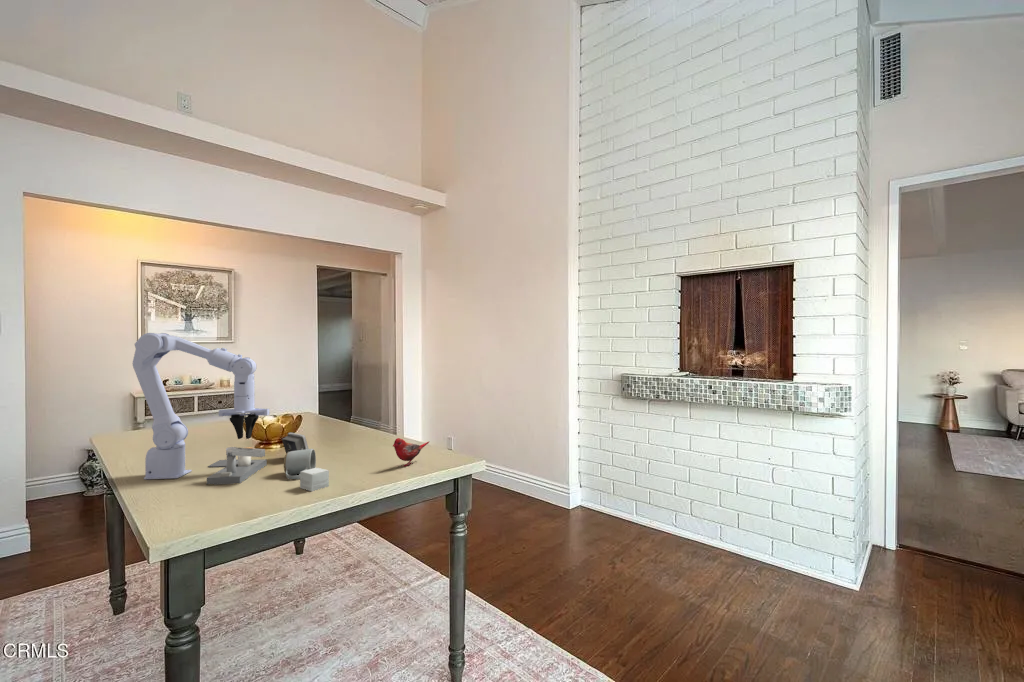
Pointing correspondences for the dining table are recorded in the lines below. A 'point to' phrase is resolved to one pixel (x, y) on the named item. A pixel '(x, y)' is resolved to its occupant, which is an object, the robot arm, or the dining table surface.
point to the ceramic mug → (299, 462)
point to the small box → (314, 479)
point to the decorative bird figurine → (407, 450)
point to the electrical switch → (294, 442)
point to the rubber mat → (219, 464)
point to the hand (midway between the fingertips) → (244, 438)
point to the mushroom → (244, 460)
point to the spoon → (245, 452)
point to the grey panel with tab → (235, 471)
